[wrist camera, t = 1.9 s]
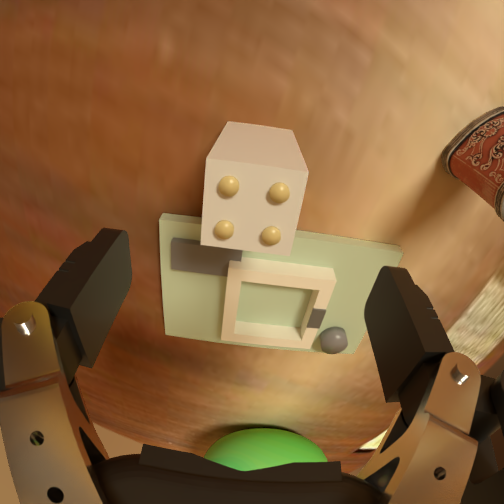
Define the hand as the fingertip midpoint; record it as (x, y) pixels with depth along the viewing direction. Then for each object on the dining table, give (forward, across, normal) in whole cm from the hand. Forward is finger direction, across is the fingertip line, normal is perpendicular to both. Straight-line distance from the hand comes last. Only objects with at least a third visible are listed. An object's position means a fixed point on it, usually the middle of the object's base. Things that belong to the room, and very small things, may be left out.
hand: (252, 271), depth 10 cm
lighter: (+12, -16, -5) cm, 21 cm away
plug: (+12, 0, 0) cm, 12 cm away
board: (+12, -3, +11) cm, 16 cm away
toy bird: (+13, -6, +40) cm, 42 cm away
